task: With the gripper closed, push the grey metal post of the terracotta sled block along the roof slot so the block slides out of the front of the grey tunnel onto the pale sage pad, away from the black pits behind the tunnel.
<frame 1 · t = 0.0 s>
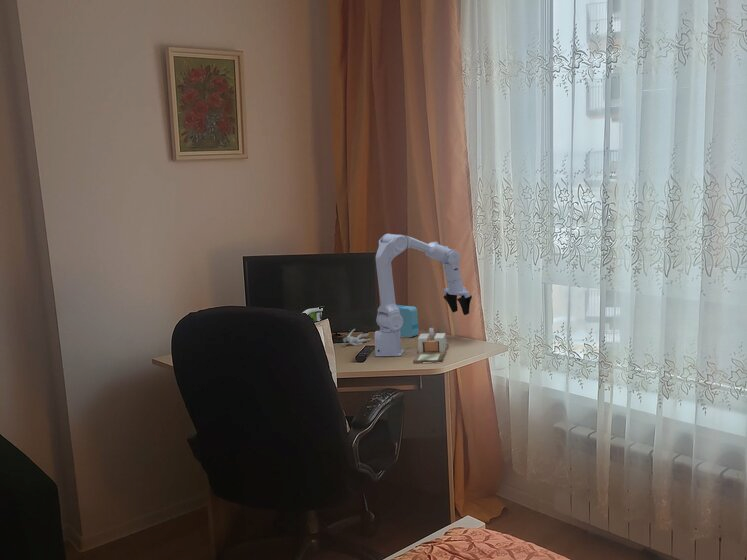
hand: (460, 312, 293), 11 cm above the table, tool pointing down, fingers open, 7 cm apart
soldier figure: (357, 344, 300), on the table
grey tunnel: (432, 352, 277), resting on walnut board
sled block: (431, 338, 276), point 5 cm above the table, slide at 0.0 cm
walnut board: (431, 354, 274), on the table
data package: (404, 336, 308), on the table
cutout: (326, 339, 313), on the table
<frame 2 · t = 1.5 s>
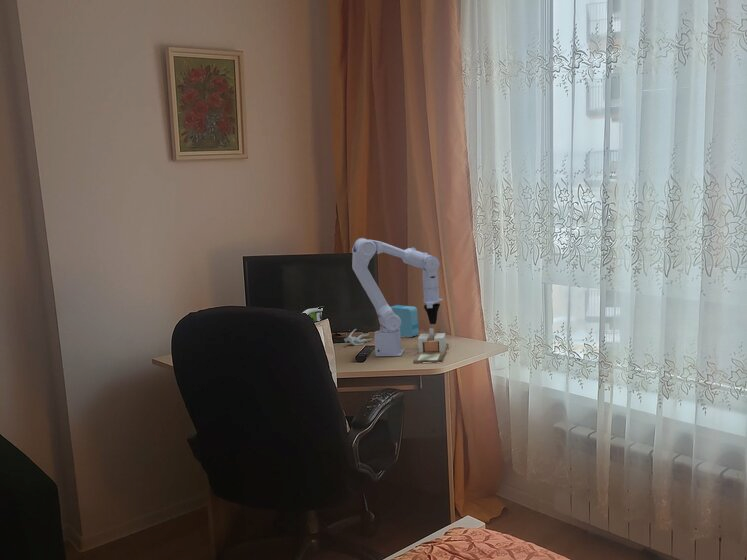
hand: (433, 323, 282), 9 cm above the table, tool pointing down, fingers closed
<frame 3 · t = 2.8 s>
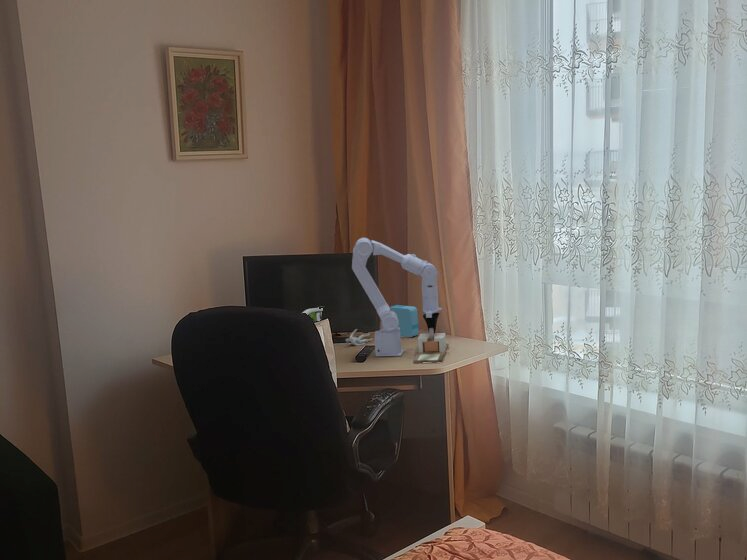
hand: (432, 333, 278), 7 cm above the table, tool pointing down, fingers closed
sled block: (431, 338, 276), point 5 cm above the table, slide at 0.0 cm, touching gripper
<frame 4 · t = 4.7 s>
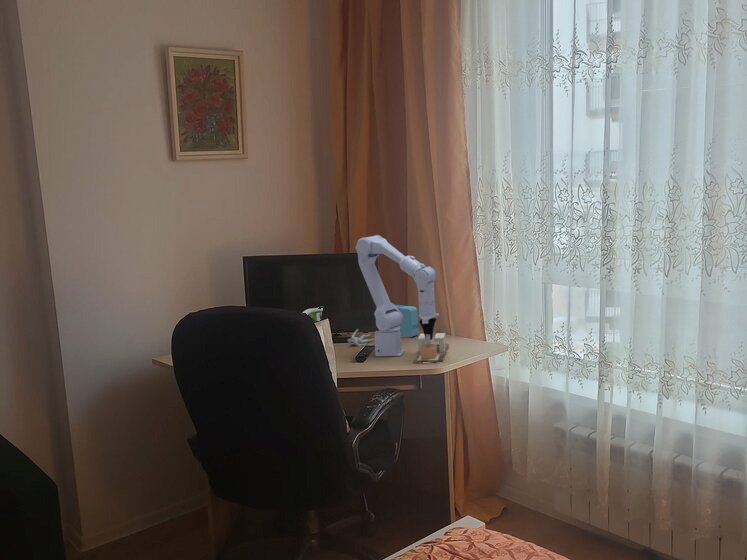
hand: (429, 339, 268), 7 cm above the table, tool pointing down, fingers closed
sled block: (428, 345, 267), point 5 cm above the table, slide at 10.1 cm, touching gripper
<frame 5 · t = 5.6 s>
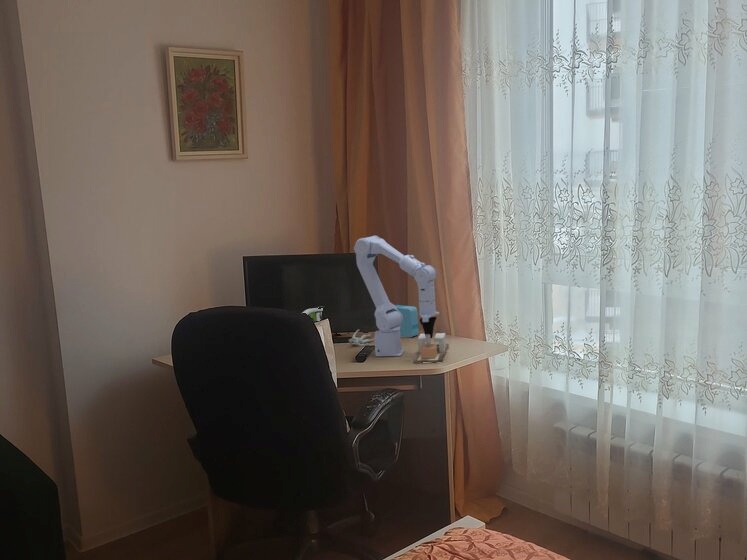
hand: (429, 337, 269), 7 cm above the table, tool pointing down, fingers closed
sled block: (428, 345, 267), point 5 cm above the table, slide at 10.1 cm
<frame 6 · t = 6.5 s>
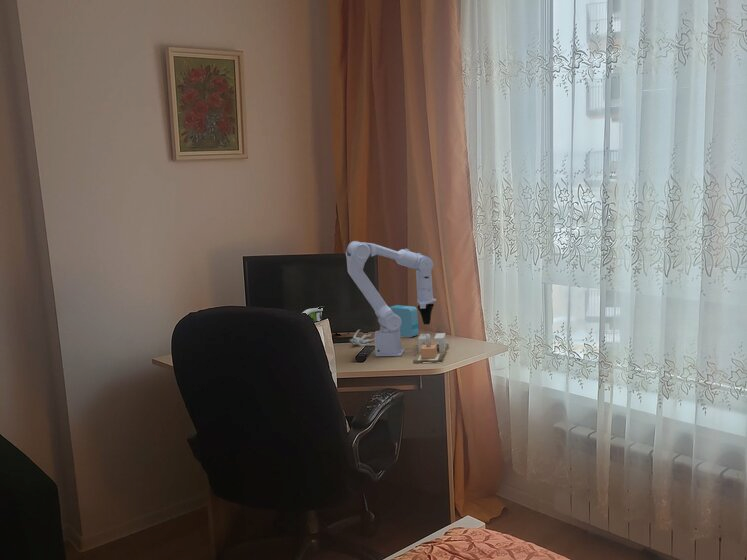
hand: (426, 324, 282), 9 cm above the table, tool pointing down, fingers closed
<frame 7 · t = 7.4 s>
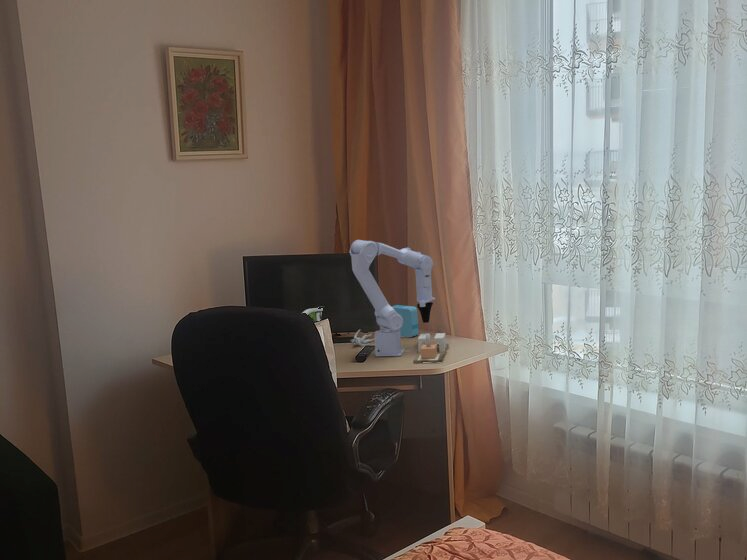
hand: (426, 322, 285), 9 cm above the table, tool pointing down, fingers closed
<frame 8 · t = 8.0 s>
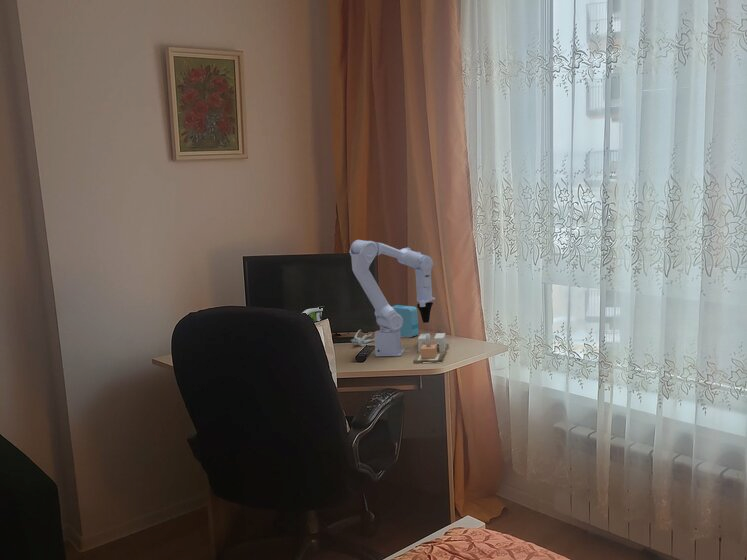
hand: (426, 322, 285), 9 cm above the table, tool pointing down, fingers closed
at the end: sled block slide at 10.1 cm; sled block 0.2 cm from the target spot, resting on walnut board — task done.
